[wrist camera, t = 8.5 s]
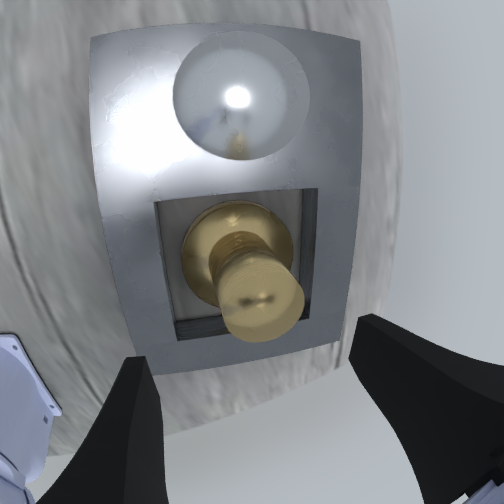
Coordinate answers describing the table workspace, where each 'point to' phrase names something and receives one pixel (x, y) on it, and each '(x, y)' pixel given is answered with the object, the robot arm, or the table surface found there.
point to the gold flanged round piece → (244, 269)
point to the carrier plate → (225, 166)
